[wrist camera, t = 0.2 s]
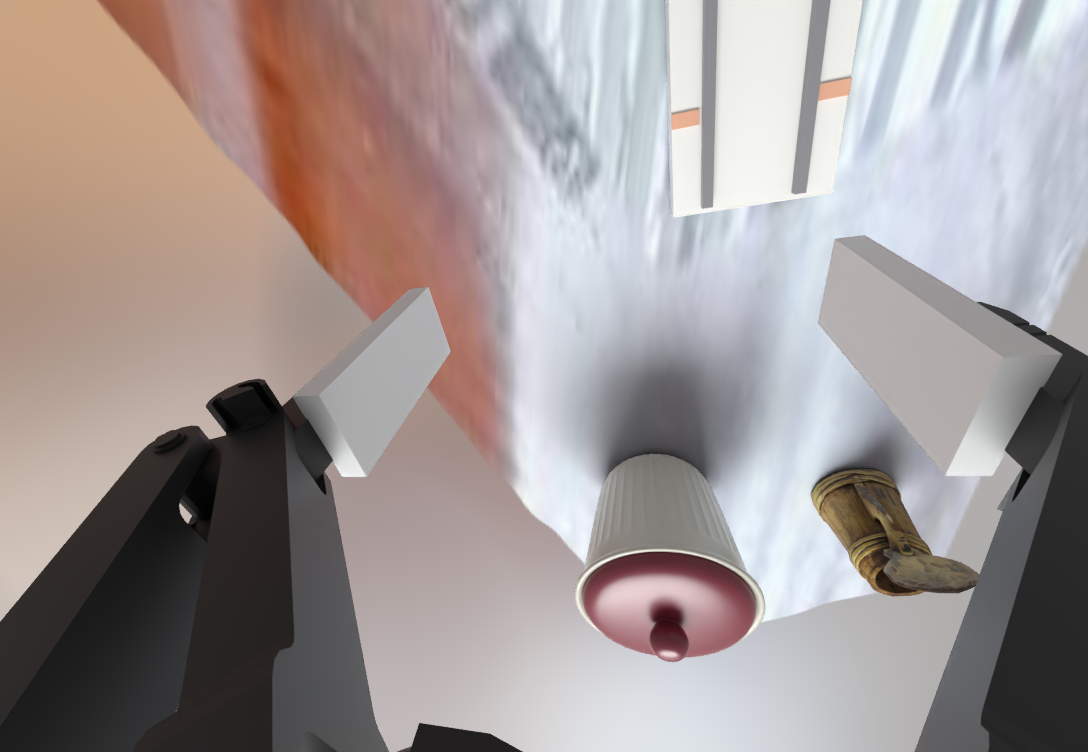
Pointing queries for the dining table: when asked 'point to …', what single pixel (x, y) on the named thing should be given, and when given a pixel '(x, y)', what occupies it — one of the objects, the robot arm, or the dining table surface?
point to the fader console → (756, 99)
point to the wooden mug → (884, 536)
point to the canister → (665, 564)
